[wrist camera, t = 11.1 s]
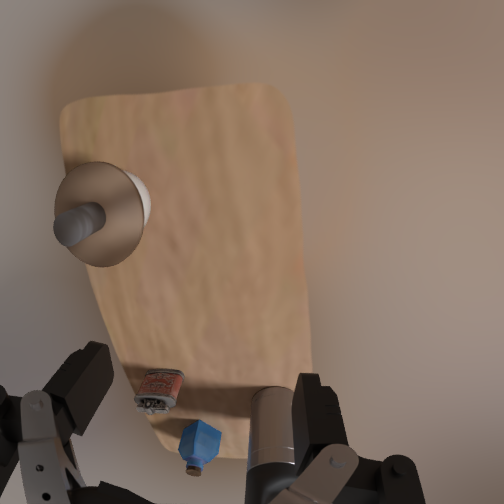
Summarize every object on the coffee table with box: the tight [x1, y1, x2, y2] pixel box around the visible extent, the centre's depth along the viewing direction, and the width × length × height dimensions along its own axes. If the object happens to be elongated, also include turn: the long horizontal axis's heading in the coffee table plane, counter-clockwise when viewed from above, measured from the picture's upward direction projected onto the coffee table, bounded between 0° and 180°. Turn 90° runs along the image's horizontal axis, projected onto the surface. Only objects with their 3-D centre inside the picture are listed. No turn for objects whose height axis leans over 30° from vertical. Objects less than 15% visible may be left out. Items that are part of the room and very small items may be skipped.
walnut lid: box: [53, 162, 145, 267], centre depth 30 cm, size 13×13×7 cm
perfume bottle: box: [178, 420, 222, 476], centre depth 53 cm, size 6×6×12 cm
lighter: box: [134, 369, 185, 415], centre depth 48 cm, size 8×3×10 cm, turn 100°
